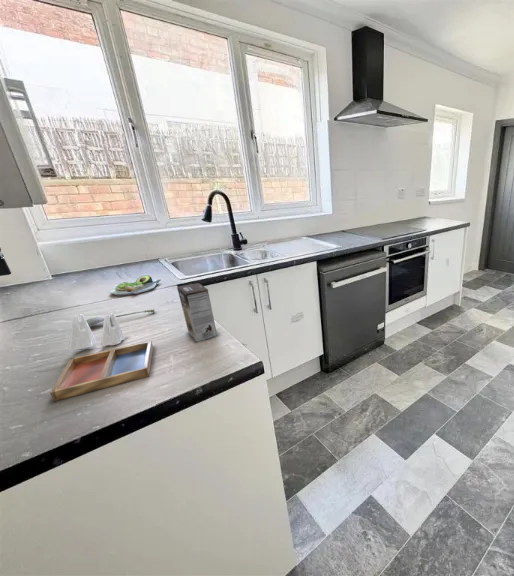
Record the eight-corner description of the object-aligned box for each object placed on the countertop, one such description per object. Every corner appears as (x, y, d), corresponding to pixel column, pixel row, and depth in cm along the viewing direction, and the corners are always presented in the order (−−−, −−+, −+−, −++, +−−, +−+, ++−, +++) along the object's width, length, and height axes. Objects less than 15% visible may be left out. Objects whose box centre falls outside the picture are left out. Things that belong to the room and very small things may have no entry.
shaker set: (71, 356, 88) (56, 321, 85) (73, 349, 92) (60, 316, 88) (124, 343, 95) (113, 310, 91) (125, 338, 98) (114, 306, 94)
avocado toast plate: (156, 293, 136) (153, 283, 135) (104, 300, 129) (101, 290, 127) (163, 281, 153) (160, 272, 151) (117, 286, 145) (114, 277, 144)
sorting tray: (53, 401, 70) (49, 392, 69) (73, 366, 84) (70, 358, 83) (149, 376, 79) (146, 368, 78) (153, 347, 93) (151, 340, 92)
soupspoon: (78, 328, 106) (76, 336, 102) (74, 319, 105) (72, 327, 100) (154, 309, 119) (156, 315, 114) (152, 301, 118) (153, 307, 113)
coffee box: (187, 332, 101) (176, 286, 96) (208, 326, 106) (199, 282, 100) (196, 342, 95) (184, 293, 90) (218, 335, 100) (208, 288, 94)
